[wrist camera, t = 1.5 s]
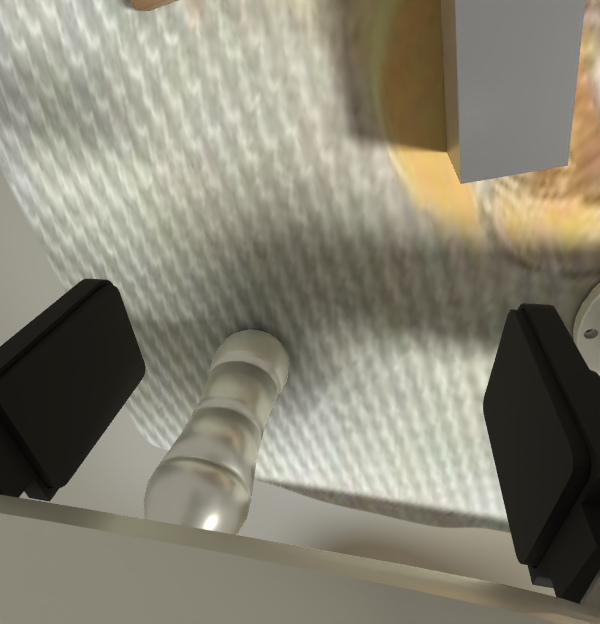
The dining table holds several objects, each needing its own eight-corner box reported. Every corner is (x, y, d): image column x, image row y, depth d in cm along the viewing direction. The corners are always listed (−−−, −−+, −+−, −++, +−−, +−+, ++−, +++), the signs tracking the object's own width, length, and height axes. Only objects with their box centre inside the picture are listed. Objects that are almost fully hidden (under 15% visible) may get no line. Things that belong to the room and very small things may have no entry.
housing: (549, -167, 17) (611, -242, 12) (531, 136, 24) (567, 165, 19) (434, -124, 18) (449, -176, 14) (447, 152, 25) (460, 183, 20)
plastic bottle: (208, 339, 37) (70, 578, 21) (262, 306, 34) (147, 560, 18) (255, 384, 40) (162, 631, 24) (309, 358, 36) (245, 623, 20)
